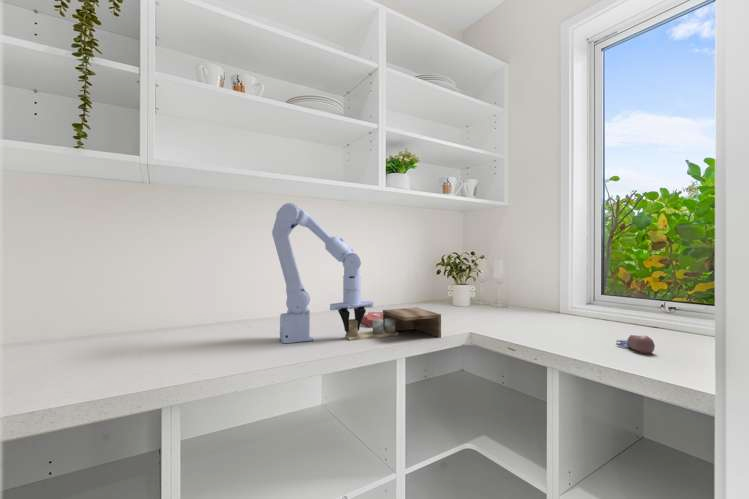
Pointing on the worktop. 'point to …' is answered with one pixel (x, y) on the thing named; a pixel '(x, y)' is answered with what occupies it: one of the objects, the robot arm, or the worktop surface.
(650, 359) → the worktop surface
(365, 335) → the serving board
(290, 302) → the robot arm
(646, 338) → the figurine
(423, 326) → the wooden crate block
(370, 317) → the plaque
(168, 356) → the worktop surface
